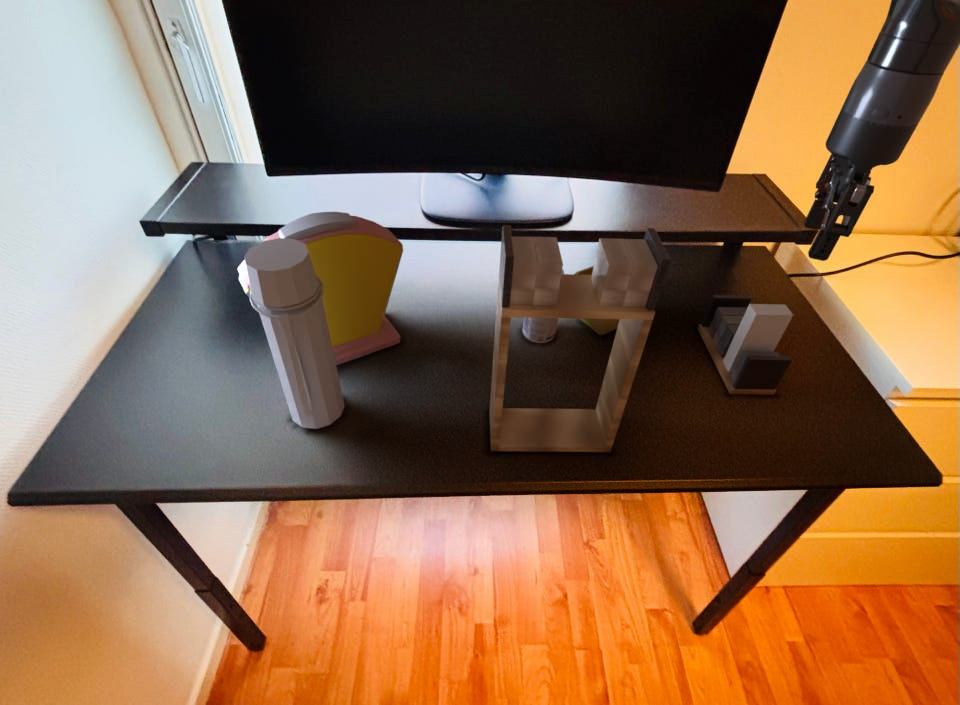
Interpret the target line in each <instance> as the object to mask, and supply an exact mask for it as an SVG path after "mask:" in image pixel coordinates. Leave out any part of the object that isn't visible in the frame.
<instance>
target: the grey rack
mask: <svg viewBox="0 0 960 705" xmlns="http://www.w3.org/2000/svg"><path fill="white" fill-rule="evenodd" d="M751 301H752V296H751V295H746V294H745V295H743V294H742V295H739V294H737V295H735V294H731V295H730V294H712V296H711V299H710V301H709V303H708V306H707V309H706V311H705V314H704V316H703V319H702V321H701V323H699V324H698V327H697V331H698V332H699V335H700V336H701V339H702V341H703V343H704V345H705V347H706V349H707V351H708V353H709V355H710V357H711V359H712V361H713V362H714V365H715V367H716V370H717V371H718V373H719V375H720V377H721V379H722V381H723V383H724V385H725V387H726V389H727V391H728V393H729V395H761V396H762V395H763V396H764V395H767V396H768V395H771V396H774V395H775V394H776V392H777V387H778V385H779V384H780V382H781V380H782V378H784V375H785V373H786V371H787V370H788V368H789V366H790V365H791V364H792V361H793V359H792V357H791V356H790V355H781V354H779V352H778V351H774V352H761V351H743V352H742V354H741V357H740V359H739V361H738V363H737V365H736V367H735V369H734V371H733V372H728V371H727V369H726V367H725V365H724V363H723V360H724V357H725V355H726V353H727V351H728V349H729V347H730V344H731V342H732V340H733V338H734V336H735V334H736V332H737V329H738V327H739V325H740V323H741V321H742V319H743V316H744V314H745V312H746V310H747V308H748V306H749V304H751Z"/></svg>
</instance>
